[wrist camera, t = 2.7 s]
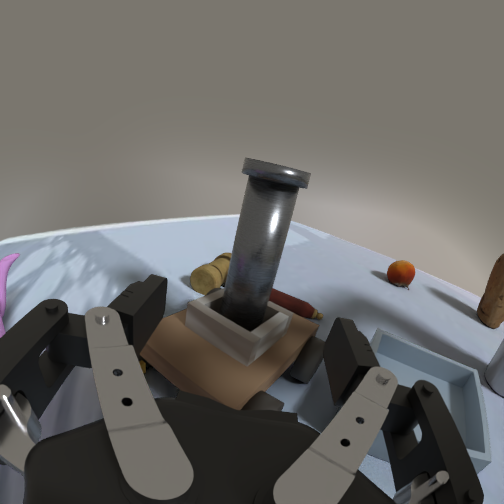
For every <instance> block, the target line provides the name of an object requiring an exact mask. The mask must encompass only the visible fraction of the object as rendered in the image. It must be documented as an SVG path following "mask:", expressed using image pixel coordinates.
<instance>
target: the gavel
mask: <svg viewBox="0 0 504 504" xmlns="http://www.w3.org/2000/svg"><path fill="white" fill-rule="evenodd" d="M231 255H232V253H223V254H221V255H219V256H218V257H216V258H215V260H214V261H213V262H211V263H209V264H206V265H202V266H200V267H198V268H197V269H195V270H194V271H193V272H192V273H191V276H190V282H191V285H192V288H193V289H194V290H195V291H196V292H198V293H201V294H203V295H206V294H207V293H208V292H209V291H210V290H212V289H214V288H220V286H221V284H223V283H226V278H227V274H228V269H229V264H230V259H231ZM269 301H270V302H272V303H274V304H276V305H279V306H281V307H283V308H285V309H287V310H289V311H291V312H293V313H294V314H297V315H299V316H301V317H304V318H312V319H314V318H315V317H316V318H317V319H319V320H321V319H322V318H323V314H321V313H318V312H317V310H316V309H314V308H313V307H312V306H311V305H310V304H309V303H307V302H305V301H302V300H300V299H297V298H295V297H292V296H290V295H288V294H285V293H283V292H280V291H278V290H276V289H273V288H272V291H271V295H270V298H269Z"/></svg>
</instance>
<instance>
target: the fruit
mask: <svg viewBox="0 0 504 504" xmlns="http://www.w3.org/2000/svg"><path fill="white" fill-rule="evenodd" d="M387 276H388V279H389V281H390V282H391V283H392V284H395V285H397V286H398V287H400V286H405V287H407V288H408V285H409V284H410V283H411V282H412V280H413V278H414V276H415V268H414V266H413V265H412V264H411V263H409V262H407V261H403V260H402V261H396V262H394V263H392V264H391V265H390V266H389V268H388V271H387ZM408 290H409V288H408Z"/></svg>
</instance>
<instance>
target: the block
mask: <svg viewBox="0 0 504 504" xmlns="http://www.w3.org/2000/svg"><path fill="white" fill-rule="evenodd" d="M477 313H478V316H479V318H480V319H481V321H482V322H483V323H484V324H486V325H487V326H489V327H491V328H494V329H495V328H498V327H499V326H500V324H501V323H502V322H503V321H504V254H502V255H501V256H500V257H499V258H498V260H497V261H496V263H495V265H494V267H493V270H492V272H491V274H490V277H489V280H488V283H487V286H486V289H485V293H484V295H483V297H482V298H481V301H480V303H479V306H478V308H477Z"/></svg>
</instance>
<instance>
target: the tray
mask: <svg viewBox="0 0 504 504" xmlns="http://www.w3.org/2000/svg"><path fill="white" fill-rule="evenodd" d="M370 346H371V348H372V350H373V352H374V354H375V356H376V358H377V360H378V362H379V365H380V367H383V368H386V369H388V370H389V371H391V372H392V373H393V374H394V375H395V376H396V377H397V380H398V384H399V385H403V386H406V387H410V388H412V386H413V385H414V384H415V382H416V381H418V380H426V381H429V382H430V383H432V384H433V385H435V386H436V387H437V389H438V390H439V392H440V394H441V396H442V398H443V400H444V402H445V404H446V406H447V408H448V410H449V412H450V414H451V416H452V418H453V420H454V422H455V424H456V426H457V428H458V431H459V433H460V435H461V437H462V439H463V442H464V444H465V446H466V449H467V451H468V453H469V456H470V458H471V461H472V463H473V466H474V468H475V471H476V473H477V474H478V473H479V472H480V471H482V470H483V469H484V468H485V467H486V466H487V465H488V464H489V463H491V447H490V437H489V428H488V421H487V414H486V408H485V403H484V397H483V393H482V388H481V383H480V379H479V375H478V371H477V370H476V369H473V368H471V367H468V366H466V365H463V364H461V363H459V362H456V361H454V360H451V359H449V358H447V357H444V356H442V355H439V354H437V353H435V352H432V351H430V350H428V349H425V348H423V347H420V346H418V345H416V344H413V343H411V342H409V341H406V340H404V339H402V338H399V337H397V336H395V335H393V334H390V333H388V332H386V331H383V330H381V329H379V328H377V330H376V332H375V334H374V336H373V338H372V340H371V342H370ZM342 407H343V406H340V407H339V409H338V411H337V413H338V412H339V411H340V410H341V408H342ZM337 413H336V415H337ZM336 415H335V416H336ZM413 430H414V433H415V435H416V438H417V441H418V444H419V442H420V440H421V437H422V432H421V429H420V426H419V424H418V425H417V426H416V427H415V428H414V429H413ZM367 454H369V455H371V456H374V457H376V458H379V459H382V460H384V461H387V462H390V461H389V456H388V452H387V448H386V444H385V440H384V436H383V432H382V430H379V432H378V434H377V436H376V438H375V440H374V442H373V444H372V446H371V447H370V449H369V451H368V453H367Z"/></svg>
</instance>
